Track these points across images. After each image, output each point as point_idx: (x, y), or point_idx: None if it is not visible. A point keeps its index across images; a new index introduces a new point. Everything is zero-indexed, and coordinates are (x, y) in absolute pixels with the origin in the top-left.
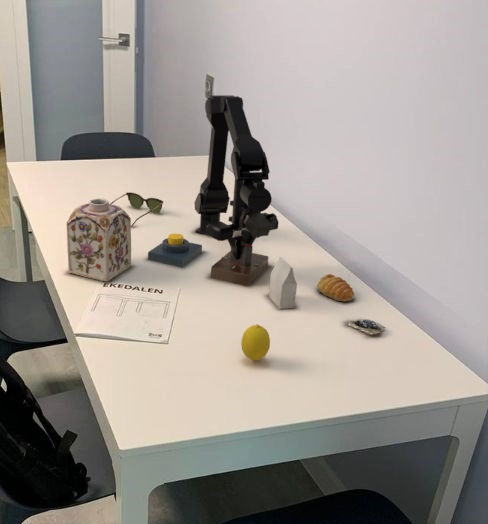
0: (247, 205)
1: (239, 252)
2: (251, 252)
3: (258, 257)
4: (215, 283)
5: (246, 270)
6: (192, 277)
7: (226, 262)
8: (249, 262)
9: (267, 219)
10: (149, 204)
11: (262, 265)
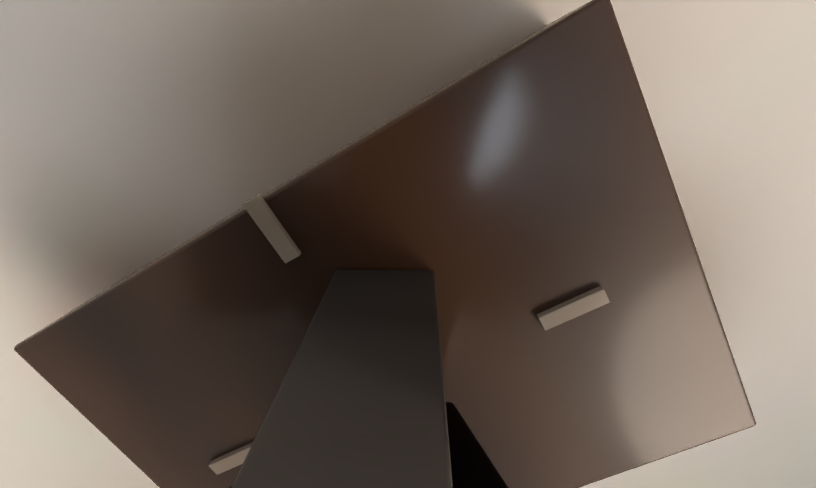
0: None
1: (458, 480)
2: (300, 375)
3: (141, 374)
4: (739, 246)
5: (512, 151)
6: (779, 414)
7: (540, 430)
8: (360, 283)
9: None
10: None
11: (179, 246)
